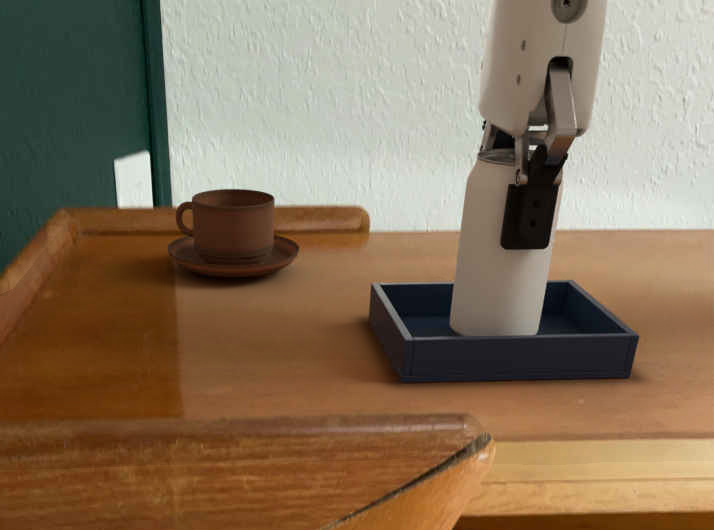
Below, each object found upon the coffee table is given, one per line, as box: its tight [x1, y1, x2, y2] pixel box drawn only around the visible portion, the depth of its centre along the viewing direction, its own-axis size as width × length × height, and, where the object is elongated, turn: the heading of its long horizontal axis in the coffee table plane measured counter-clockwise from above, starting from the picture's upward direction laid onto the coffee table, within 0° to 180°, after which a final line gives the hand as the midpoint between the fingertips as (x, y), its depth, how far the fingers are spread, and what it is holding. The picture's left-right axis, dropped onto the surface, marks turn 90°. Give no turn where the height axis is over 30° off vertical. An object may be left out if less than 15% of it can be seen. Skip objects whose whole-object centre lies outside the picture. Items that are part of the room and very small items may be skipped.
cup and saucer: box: [167, 188, 300, 278], centre depth 87 cm, size 12×12×6 cm
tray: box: [368, 279, 640, 384], centre depth 71 cm, size 16×13×3 cm
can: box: [450, 149, 564, 336], centre depth 68 cm, size 6×6×12 cm
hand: (508, 232), depth 67 cm, fingers closed on can, 6 cm apart
